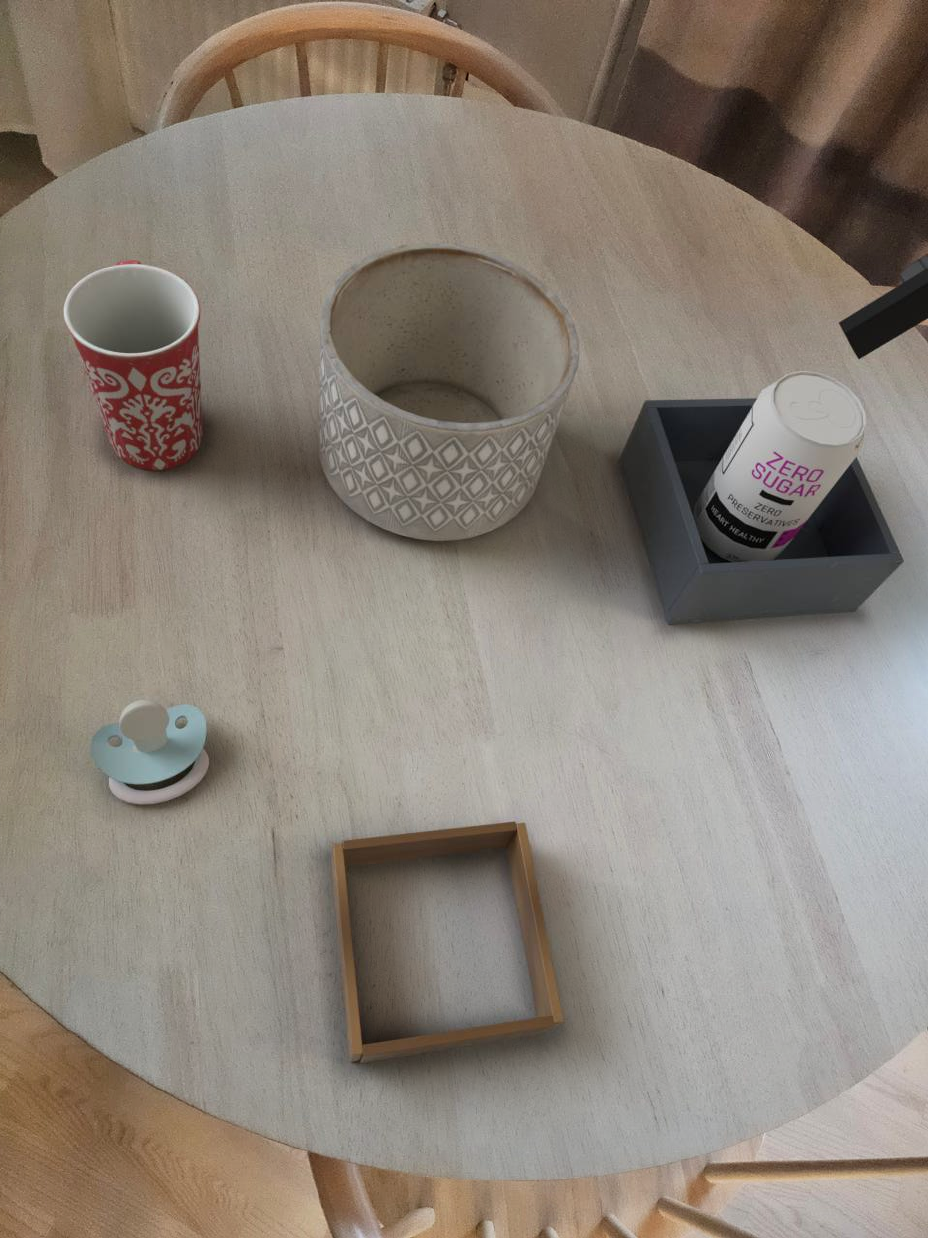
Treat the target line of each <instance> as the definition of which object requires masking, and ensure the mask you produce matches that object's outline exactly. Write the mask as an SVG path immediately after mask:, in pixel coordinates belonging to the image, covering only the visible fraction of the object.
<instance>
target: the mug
mask: <svg viewBox="0 0 928 1238" xmlns="http://www.w3.org/2000/svg"><path fill="white" fill-rule="evenodd" d="M201 311H202V309H201V303H200V300H199V297H198V296H197V293H196V292H195V290H194V289H193V288H192V286H191V285H190V284H189V283H188V282H187V281H186V280H184V279H183V278H182V277H180V276H179V275H178V274H175V273H174V272H172V271H169V270H167V269H164V268H162V267H158V266H153V265H148V264H142V263H141V262H140V261H139V260H135V259H134V260H133V259H130V260H121V261H118V262H117V263H116V264H115V265H111V266H109V267H105V268H101V269H98V270H96V271H93V272H91V273H89V274H87V275H86V276H84V277H82V278H81V279H80V280H79V281H78V282H77V283H76V284H75V285H73V286H72V287H71V289H70V290H69V292H68V294H67V295H66V297H65V300H64V304H63V308H62V315H63V320H64V323H65V326H66V329H67V330H68V332H69V334H70V335H71V336H72V338H73V341H74V344H75V348H76V350H77V353H78V356H79V358H80V361H81V363H82V367H83V371H84V372H85V374H86V377H87V380H88V384H89V386H90V389H91V392H92V395H93V397H94V400H95V403H96V406H97V409H98V412H99V415H100V418H101V420H102V423H103V426H104V429H105V432H106V435H107V438H108V440H109V444H110V445H111V448H112V449H113V451H114V452H115V454H116V455H117V456H118V457H119V458H120V459H121V460H122V461H123V462H125V463H126V464H129V465H131V466H133V467H136V468H137V469H138V468H139V469H143V470H146V471H147V470H148V471H164V470H168V469H169V470H170V469H172V468H176V467H178V466H181V465H183V464H184V463H186V462H188V461H189V460H190V459H192V458H193V457H194V456H195V454H196V453H197V452H198V450H199V449H200V447H201V445H202V442H203V435H204V433H203V432H204V431H203V430H204V429H203V415H202V390H201V388H202V383H201V382H202V381H201V366H200V365H201V363H200V338H199V337H200V334H199V323H200V319H201Z"/></svg>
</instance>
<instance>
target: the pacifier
mask: <svg viewBox="0 0 928 1238" xmlns="http://www.w3.org/2000/svg"><path fill="white" fill-rule="evenodd" d="M183 718H184V719H186V720H187V722H186V724H185V726H184V727H182V728H178V727H177V726H176V724H177V722H178V721H179V720H180V719H183ZM207 728H208V727H207V721H206V718H205V715H204V714H203V712H202V711H201V709H199V708H198V707H196V706H195V705H192V704H178V705H175V706H172V707H170V708H168V709H167V708H165V706H163V704H161V703H159V702H158V701H156V700H153V699H145V698H143V699H139V700H135V701H133V702H131V703H130V704H128V705H127V706H126V707H125V708H124V709H123V710H122V713H121V714H120V717H119V721H118V722H113V723H109V724H107V725H105V726H103V727H101V728H99V729H98V730H97V731H96V732H95V733H94V735H93V736H92V738H91V740H90V745H89V749H90V755H91V757H92V759H93V761H94V763H95V765H96V766H97V767H98V768H99V769H100V770H101V771H102V772H103V773H104V775H106V776H107V777H108V787H109V789H110V792H111V793H112V795H114V796H115V798H117V799H119V800H120V801H123V802H126V803H129V804H134V805H155V804H159V803H163V802H164V803H165V802H169V801H171V800H173V799H175V798H178V797H180V796H182V795H184V794H185V793H186V794H187V792H189V791H191V790H193V788H194V787H195V786H197V785H198V784H199V783H200V782H201V781H202V779H203V778H204V777H205V775H206V774H207V771H208V768H209V766H210V759H209V755H208V753H207V751H206V750H205V748H204V746H205V744H206V739H207V733H208V729H207ZM112 738H119V739H120V740H121V741H122V742H121V744H120V745H119V746H112V745H110V743H109V741H110V740H111V739H112ZM193 763H194V764H193ZM191 765H193V766H192V769H191V770H190V771H189V772H188V773H187V774H186V775H185V776H184V777H183V778H181V779H180V780H179V781H177V782H175V783H173V784H171V785H168V786H166V787H163V788H158V789H154V790H153V789H152V790H141V789H135V788H132V787H129V786H128V785H127V784H129V785H150V784H156V783H159V782H163V781H166V780H168V779H171V778H173V777H175V776H177V775H179V774H181V773H183V772H184V771H185V770H186V769H188V768H189V767H190V766H191Z"/></svg>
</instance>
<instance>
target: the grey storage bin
mask: <svg viewBox="0 0 928 1238" xmlns="http://www.w3.org/2000/svg"><path fill="white" fill-rule="evenodd" d="M757 398H758V397H749V398H748V397H747V398H701V399H699V398H697V399H693V398H691V399H647V400H644V402H643V404H642V406H641V409H640V411H639V413H638V415H637V418H636V420H635V421H634V422H635V423H634V425H633V427H632V429H631V431H630V433H629V435H628V438H627V440H626V443H625V445H624V447H623V450H622V452H621V454H620V457H619V459H618V463H619V467H620V470H621V473H622V477H623V481H624V485H625V486H626V490H627V493H628V496H629V497H628V498H629V500H630V504H631V507H632V510H633V515H634V517H635V520H636V523H637V526H638V531H639V534H640V536H641V540H642V543H643V547H644V550H645V551H644V552H645V553H646V557H647V561H648V564H649V567H650V570H651V574H652V577H653V581H654V584H655V588H656V590H657V594H658V597H659V600H660V604H661V607H662V611H663V613H664V618H665V621H666V623H667V625H668V626H669V625H682V624H683V625H684V624H685V625H686V624H698V623H712V622H728V621H739V620H740V621H741V620H755V619H756V620H757V619H768V618H769V619H770V618H782V617H783V618H784V617H785V618H786V617H797V616H799V617H800V616H813V615H827V614H839V613H854V612H856V611H857V610H858V609H859V608H860V607H861V606H862V605H863V604H864V603H865V601H866V600H868V599H869V598H870V597H871V596H872V594H874V592H876V590H877V589H879V587H880V586H882V584H884V582H885V581H887V579H889V577H890V576H892V574H893V573H894V572H895V571H896V570H898V568H899V567H900V566H901V565H902V564H903V563H904V562H905V559H904V558H903V555H902V554H901V551H900V549H899V547H898V545H897V542H896V540H895V538H894V535H893V534H892V531H891V529H890V527H889V525H888V523H887V520H886V518H885V516H884V514H883V512H882V509H881V507H880V505H879V503H878V501H877V498H876V496H875V494H874V492H873V490H872V487H871V485H870V484H869V481H868V479H867V476H866V474H865V472H864V470H863V467H862V465H861V463H860V461H859V458H858V455H857V456H856V458H855V459H854V460H853V462H852V463H851V464H850V465H849V467H848V468H847V469H846V471H845V472H844V473H843V475H842V476H841V477H840V478H839V480H838V481H837V482H836V484H835V485H834V486H833V487H832V489H831V490H830V491H829V493H828V494H827V495H826V496H825V498H824V499H823V500H822V502H821V503H820V504H819V506H818V507H817V508H816V509H815V511H814V512H813V513H812V515H811V516H810V517H809V518H808V520H807V521H806V522H805V524H804V525H803V526H802V528H801V529H800V530H799V531H798V533H797V534H796V535H795V537H794V538H793V539H792V540H791V542H790V543H789V544H788V546H787V547H786V548H785V550H784V551H783V552H782V553H781V554H780V555H779V556H778V557H776V558H775V559H774V560H767V561H749V562H731V561H729V560H726V559H724V558H721V557H720V556H719V555H717V554H716V553H714V552H713V551H712V550H710V549H709V548H708V547H707V546H706V544H705V543H704V542H703V540H702V539H701V538H700V536H699V533H698V530H697V527H696V524H695V521H694V518H693V510H694V506H695V504H696V502H697V500H698V499H699V497H700V495H701V493H702V492H703V490H704V488H705V487H706V485H707V483H708V481H709V480H710V478H711V476H712V475H713V473H714V471H715V470H716V468H717V466H718V464H719V463H720V461H721V459H722V458H723V456H724V454H725V453H726V451H727V449H728V447H729V446H730V444H731V442H732V441H733V439H734V437H735V436H736V434H737V432H738V430H739V429H740V427H741V425H742V424H743V422H744V420H745V419H746V417H747V415H748V413H749V412H750V410H751V408H752V407H753V405H754V403H755V401H756V400H757Z"/></svg>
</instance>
